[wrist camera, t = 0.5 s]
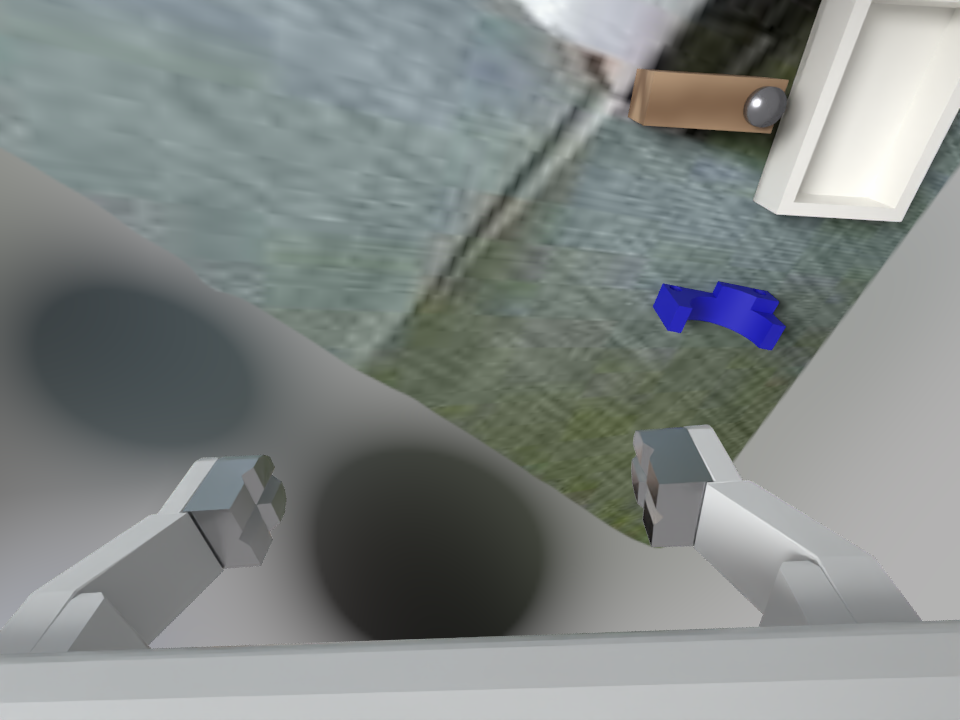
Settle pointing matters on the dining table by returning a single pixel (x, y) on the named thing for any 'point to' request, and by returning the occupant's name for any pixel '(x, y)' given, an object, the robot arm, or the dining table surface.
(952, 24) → the bin
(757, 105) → the strut
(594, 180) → the dining table surface
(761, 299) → the cable clip
